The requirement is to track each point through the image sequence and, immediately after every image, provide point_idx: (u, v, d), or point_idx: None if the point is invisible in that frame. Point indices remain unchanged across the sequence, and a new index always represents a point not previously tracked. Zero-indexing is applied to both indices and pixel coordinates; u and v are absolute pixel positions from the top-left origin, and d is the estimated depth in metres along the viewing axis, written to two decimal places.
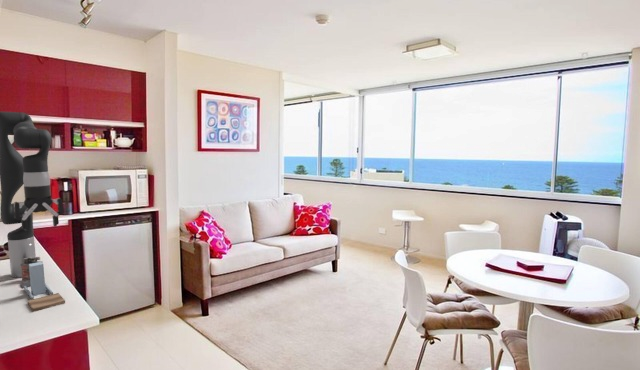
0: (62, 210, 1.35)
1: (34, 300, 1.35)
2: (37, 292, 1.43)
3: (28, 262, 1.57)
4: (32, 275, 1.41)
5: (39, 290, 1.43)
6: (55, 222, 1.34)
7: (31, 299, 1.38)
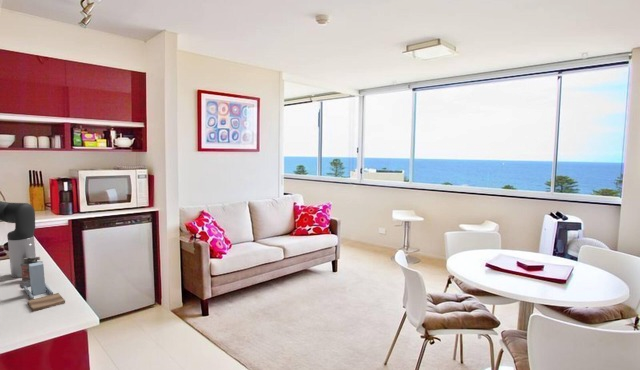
0: None
1: (34, 300, 1.35)
2: (37, 292, 1.43)
3: (28, 262, 1.57)
4: (32, 275, 1.41)
5: (39, 290, 1.43)
6: None
7: (31, 299, 1.38)
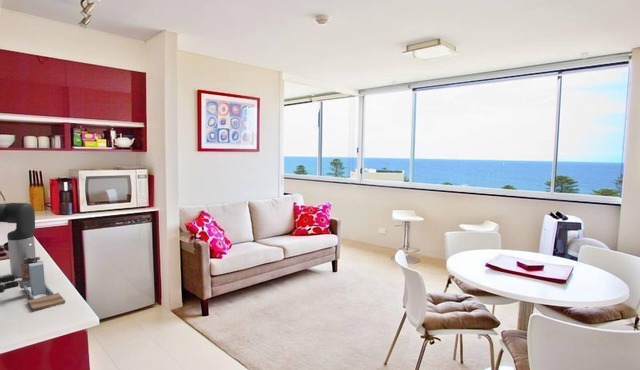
0: None
1: (34, 300, 1.35)
2: (37, 292, 1.43)
3: (28, 262, 1.57)
4: (32, 275, 1.41)
5: (39, 290, 1.43)
6: None
7: (31, 299, 1.38)
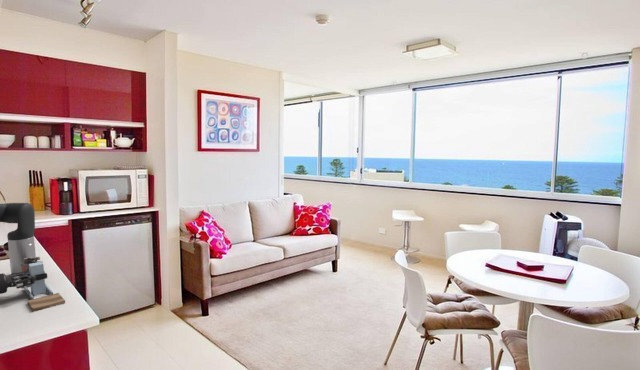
0: None
1: (34, 300, 1.35)
2: (37, 292, 1.43)
3: (28, 262, 1.57)
4: (32, 275, 1.41)
5: (39, 290, 1.43)
6: None
7: (31, 299, 1.38)
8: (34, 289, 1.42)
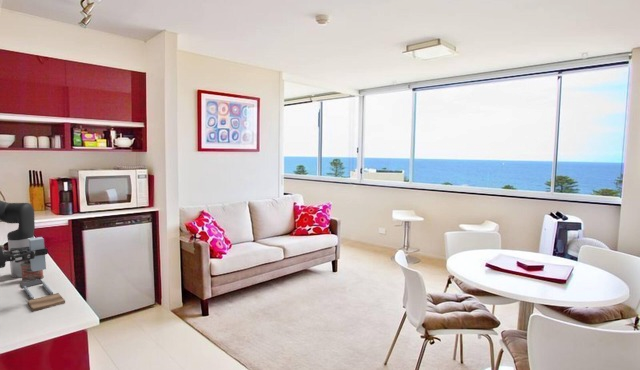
0: None
1: (34, 300, 1.35)
2: (37, 268, 1.36)
3: (28, 262, 1.57)
4: None
5: (39, 266, 1.36)
6: None
7: (31, 299, 1.38)
8: (34, 265, 1.35)
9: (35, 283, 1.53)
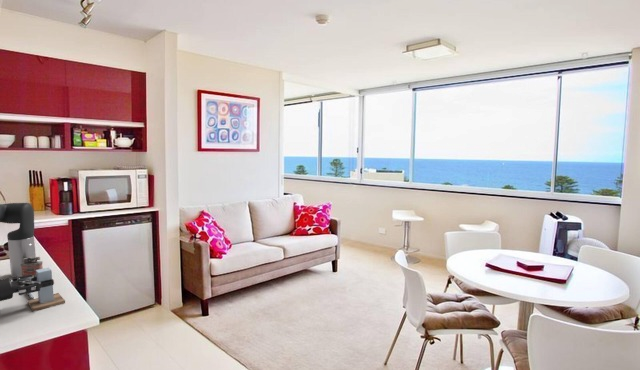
0: None
1: (34, 300, 1.35)
2: (45, 300, 1.33)
3: (28, 262, 1.57)
4: None
5: (47, 297, 1.34)
6: None
7: (31, 299, 1.38)
8: (42, 297, 1.33)
9: None
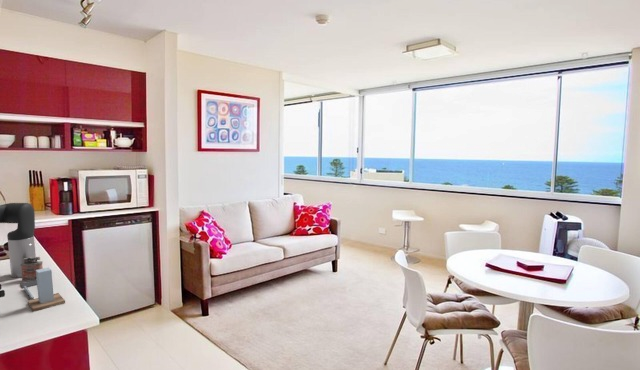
0: None
1: (34, 300, 1.35)
2: (45, 300, 1.33)
3: (28, 262, 1.57)
4: (39, 282, 1.32)
5: (47, 297, 1.34)
6: None
7: (31, 299, 1.38)
8: (42, 297, 1.33)
9: (35, 283, 1.53)
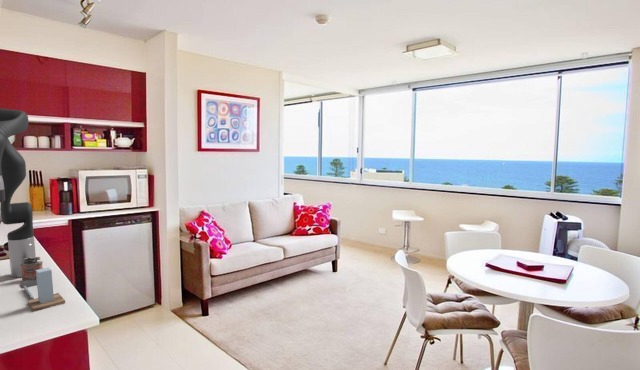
0: None
1: (34, 300, 1.35)
2: (45, 300, 1.33)
3: (28, 262, 1.57)
4: (39, 282, 1.32)
5: (47, 297, 1.34)
6: None
7: (31, 299, 1.38)
8: (42, 297, 1.33)
9: (35, 283, 1.53)
